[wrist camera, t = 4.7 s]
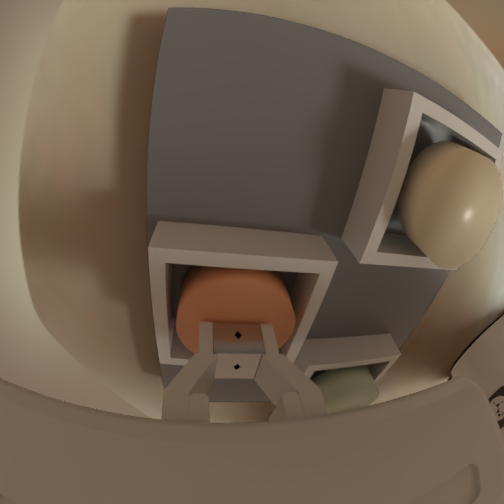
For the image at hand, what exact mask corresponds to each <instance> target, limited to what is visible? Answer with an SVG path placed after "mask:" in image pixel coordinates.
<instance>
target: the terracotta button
mask: <svg viewBox="0 0 504 504" xmlns="http://www.w3.org/2000/svg"><path fill="white" fill-rule="evenodd" d="M200 321H209V322H225V323H259V324H260V323H264V324H272V325H273V329H274V333H275V337H276V342H277V346H278V349H279V348H280V347H281V346H282V345H284V344H285V343H286V341H287V340H288V339H289V338H290V336H291V335H292V333H293V330H294V327H295V313H294V310H293V307H292V304H291V301H290V298H289V294H288V291H287V288H286V285H285V282H284V279H283V277H282V275H281V274H280V272H279V271H270V270H254V269H240V268H226V267H212V266H199V265H196V266H195V267H194V268H192V269H191V270H190V271H189V273H188V274H187V275H186V277H185V278H184V280H183V282H182V285H181V288H180V295H179V303H178V311H177V319H176V330H177V334H178V337H179V339H180V340H181V342H182V343H183V344H184V346H185V347H186V348H188V349H189V350H190V351H191V352H193V353H194V354H195V353H199V327H200Z"/></svg>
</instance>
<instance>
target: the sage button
mask: <svg viewBox="0 0 504 504" xmlns="http://www.w3.org/2000/svg"><path fill="white" fill-rule="evenodd" d="M311 381H312V382H314V383H315V384H316V385H317V386H318V387H319V388H320V389H321V392H322V396H323V399H324V402H325V406H326V409H327V412H328V414H332V413H338V412H343V411H348V410H353V409H358V408H362V407H366V406H368V405H369V404H371V403H372V402H373V401H374V400H375V399H376V398H377V396H378V394H379V391H378V389H377V386H376V384H375V382H374V379H373V377H372V375H371V372H370V370H369V368H368V367H367V366H366V365H361V366H354V367H346V368H337V369H330V370H328V371H325V372H323V373H321V374H319V375H318V376H316V377H315V378H313V379H312V380H311Z"/></svg>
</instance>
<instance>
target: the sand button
mask: <svg viewBox="0 0 504 504" xmlns="http://www.w3.org/2000/svg"><path fill="white" fill-rule="evenodd" d="M501 201H502V181H501V177H500V173H499V170H498V168H497V167H496V165H495V164H494V162H493V161H492V160H491V159H489V158H487V157H485V156H483V155H481V154H479V153H477V152H475V151H473V150H470V149H468V148H466V147H464V146H461V145H459V144H456V143H454V142H451V141H439V142H436V143H433V144H431V145H429V146H428V147H426V148H425V149H424V150H422V151H421V152H420V153H419V154H418V156H417V157H416V158H415V159H414V161H413V162H412V164H411V165H410V167H409V168H408V171H407V173H406V175H405V178H404V181H403V184H402V187H401V190H400V194H399V200H398V215H399V221H400V225H401V227H402V230H403V231H404V233H405V234H406V236H407V237H408V238H409V239H410V240H411V241H412V242H413V243H414V244H415V245H416V246H417V247H418V248H419V249H420V250H421V251H422V252H423V253H424V254H425V255H426V256H427V257H428V258H429V259H430V260H431V261H432V262H433V263H434V264H435V265H436V266H437V267H440V268H443V269H451V268H455V267H458V266H460V265H462V264H464V263H465V262H467V261H468V260H470V259H471V258H472V257H473V256H474V255H475V254H476V253H477V252H478V251H479V250H480V249H481V248H482V246H483V245H484V244H485V242H486V241H487V239H488V238H489V236H490V234H491V232H492V230H493V228H494V226H495V224H496V221H497V218H498V215H499V212H500V207H501Z"/></svg>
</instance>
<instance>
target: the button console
mask: <svg viewBox="0 0 504 504" xmlns="http://www.w3.org/2000/svg"><path fill="white" fill-rule="evenodd" d="M501 136H502V133H501V132H500V131H499V130H498V129H496V128H495V127H494V126H493V125H492V124H491V123H490V122H488V121H487V120H486V119H485V118H484V117H483V116H481V115H480V114H479V113H478V112H476V111H475V110H474V109H473V108H471V107H470V106H469V105H467V104H466V103H465V102H463V101H462V100H461V99H459V98H458V97H456V96H455V95H454V94H452V93H451V92H449V91H448V90H446V89H445V88H443V87H442V86H440V85H439V84H437V83H435V82H434V81H432V80H431V79H429V78H427V77H426V76H424V75H422V74H421V73H419V72H417V71H415V70H414V69H412V68H410V67H408V66H406V65H404V64H403V63H401V62H399V61H397V60H395V59H393V58H391V57H389V56H387V55H384V54H382V53H380V52H378V51H376V50H374V49H371V48H369V47H367V46H364V45H362V44H359V43H357V42H354V41H352V40H349V39H347V38H344V37H341V36H338V35H336V34H333V33H330V32H327V31H323V30H320V29H317V28H314V27H310V26H307V25H303V24H299V23H295V22H291V21H287V20H283V19H278V18H274V17H269V16H264V15H258V14H252V13H245V12H238V11H230V10H220V9H207V8H168V13H167V17H166V21H165V26H164V30H163V35H162V40H161V45H160V51H159V56H158V62H157V69H156V75H155V82H154V90H153V98H152V107H151V117H150V128H149V142H148V159H147V195H146V213H147V249H148V267H149V281H150V293H151V304H152V313H153V322H154V330H155V337H156V344H157V351H158V358H159V364H160V370H161V375H162V381H163V386H164V389H165V388H166V387H167V386H168V385H169V383H170V382H171V381H172V380H173V379H174V378H175V376H176V375H177V374H178V373H179V372H180V371H181V369H182V368H183V367H184V366H185V365H186V363H187V362H188V361H189V360H190V359H191V358H192V356H193V355H194V353H193V352H191V351H190V350H189V349H188V348H186V347H185V346H184V344H183V343H182V342H181V340H180V339H179V337H178V334H177V330H176V319H177V311H178V303H179V295H180V288H181V285H182V282H183V280H184V278H185V277H186V275H187V274H188V273H189V271H190V270H191V269H192V268H194V267H195V266H196V265H199V266H212V267H226V268H240V269H254V270H270V271H279V272H280V274H281V275H282V277H283V279H284V282H285V285H286V288H287V291H288V294H289V298H290V301H291V304H292V307H293V310H294V313H295V327H294V330H293V333H292V335H291V336H290V338H289V339H288V340H287V341H286V343H285V344H284V345H282V346H281V347H280V348H279V349H278V350H279V354H283V355H284V356H285V357H286V358H287V359H289V360H290V361H291V362H292V363H293V364H294V365H295V366H296V367H297V368H298V369H299V370H300V371H301V372H303V373H304V374H305V375H306V376H307V377H308V378H309V379H310V380H312V379H313V378H315V377H316V376H318V375H319V374H321V373H323V372H325V371H328V370H330V369H337V368H346V367H354V366H361V365H366V366H367V367H368V368H369V370H370V372H371V375H372V377H373V379H374V382H375V384H377V382H378V381H379V380H380V379H381V378H382V377H383V376H384V375H385V373H386V372H387V371H388V370H389V369H390V367H391V366H392V365H393V364H394V363H395V361H396V360H397V359H398V358H399V356H400V355H401V353H400V351H399V349H400V347H401V346H402V345H403V343H404V342H405V341H406V339H407V338H408V337H409V335H410V334H411V332H412V331H413V330H414V328H415V327H416V325H417V324H418V322H419V321H420V320H421V318H422V317H423V315H424V314H425V312H426V310H427V309H428V307H429V306H430V304H431V303H432V301H433V299H434V298H435V296H436V294H437V293H438V291H439V289H440V288H441V286H442V284H443V283H444V281H445V279H446V277H447V276H448V274H449V272H450V270H457V269H458V267H459V266H458V267H455V268H451V269H443V268H440V267H437V266H436V265H435V264H434V263H433V262H432V261H431V260H430V259H429V258H428V257H427V256H426V255H425V254H424V253H423V252H422V251H421V250H420V249H419V248H418V247H417V246H416V245H415V244H414V243H413V242H412V241H411V240H410V239H409V238H408V237H407V236H406V234H405V233H404V231H403V230H402V227H401V225H400V221H399V215H398V200H399V194H400V190H401V187H402V184H403V181H404V178H405V175H406V173H407V171H408V168H409V167H410V165H411V164H412V162H413V161H414V159H415V158H416V157H417V156H418V154H419V153H420V152H421V151H422V150H424V149H425V148H426V147H428V146H429V145H431V144H433V143H436V142H439V141H451V142H454V143H456V144H459V145H461V146H464V147H466V148H468V149H470V150H473V151H475V152H477V153H479V154H481V155H483V156H485V157H487V158H489V159H491V160H492V161H493V162H494V164H495V165H496V167H497V168H498V170H499V168H500V165H501V161H502V158H503V154H504V152H503V151H501V150H500V149H499V144H500V140H501ZM205 395H207V396H208V397H209V402H262V401H271V400H270V399H269V398H268V396H267V395H266V394H265V393H264V392H263V390H262V389H261V388H260V387H259V385H258V384H257V383H256V382H255V380H254V379H238V378H225V379H215V380H214V381H213V383H212V384H211V386H210V387H209V389H208V390H207V392H206V393H205Z"/></svg>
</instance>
